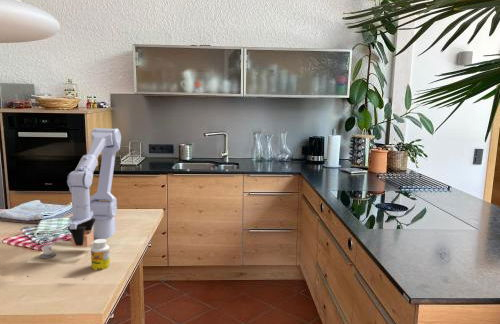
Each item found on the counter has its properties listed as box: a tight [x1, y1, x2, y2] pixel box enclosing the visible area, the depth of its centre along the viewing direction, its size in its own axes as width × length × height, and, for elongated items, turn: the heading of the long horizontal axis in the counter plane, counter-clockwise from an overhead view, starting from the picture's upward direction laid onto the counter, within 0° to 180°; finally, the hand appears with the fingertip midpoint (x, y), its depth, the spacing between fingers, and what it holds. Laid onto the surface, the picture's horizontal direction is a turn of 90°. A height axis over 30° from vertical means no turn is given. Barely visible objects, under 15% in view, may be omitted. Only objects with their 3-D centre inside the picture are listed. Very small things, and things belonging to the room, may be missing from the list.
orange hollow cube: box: [70, 230, 95, 247], centre depth 138 cm, size 5×5×5 cm
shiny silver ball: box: [39, 244, 56, 259], centre depth 133 cm, size 5×5×5 cm
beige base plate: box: [25, 240, 93, 265], centre depth 137 cm, size 20×16×2 cm
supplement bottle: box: [90, 238, 111, 271], centre depth 126 cm, size 6×6×10 cm
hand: (82, 242), depth 138 cm, fingers closed on orange hollow cube, 5 cm apart
